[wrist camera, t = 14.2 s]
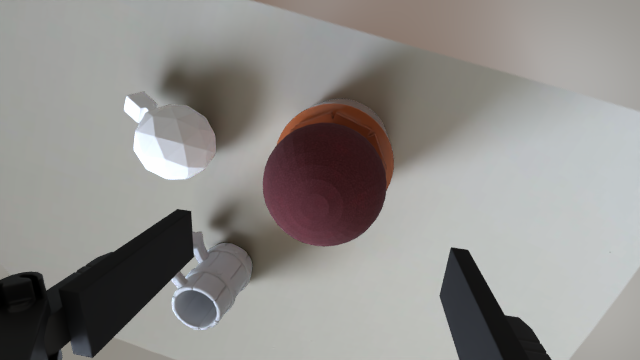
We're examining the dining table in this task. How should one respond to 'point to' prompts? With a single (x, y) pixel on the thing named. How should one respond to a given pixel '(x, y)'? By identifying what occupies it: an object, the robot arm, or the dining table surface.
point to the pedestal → (349, 125)
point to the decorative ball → (324, 184)
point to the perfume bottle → (170, 137)
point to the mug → (210, 283)
